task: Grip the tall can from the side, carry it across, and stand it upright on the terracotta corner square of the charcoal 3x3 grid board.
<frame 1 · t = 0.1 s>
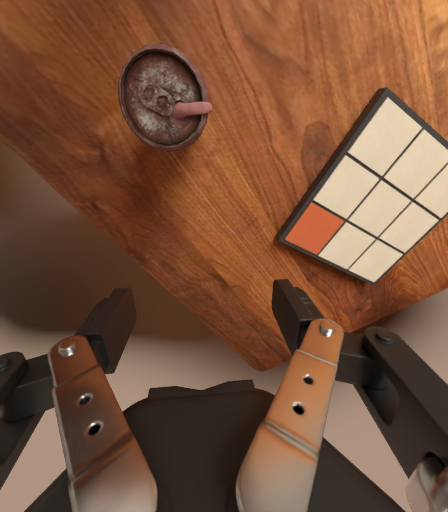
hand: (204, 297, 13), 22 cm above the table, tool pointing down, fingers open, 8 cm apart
board: (372, 206, 35), on the table
can: (181, 109, 27), on the table
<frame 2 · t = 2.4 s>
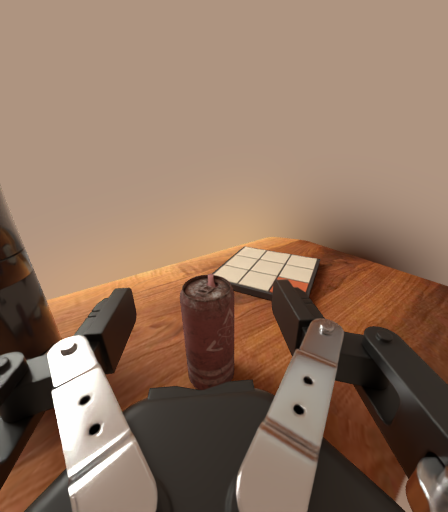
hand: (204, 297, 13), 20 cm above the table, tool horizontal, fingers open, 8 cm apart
board: (267, 273, 57), on the table
can: (211, 373, 31), on the table
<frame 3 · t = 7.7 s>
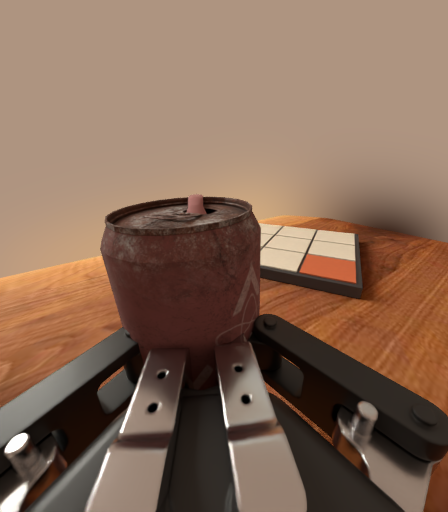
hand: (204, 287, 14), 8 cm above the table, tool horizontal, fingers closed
board: (287, 252, 40), on the table
can: (208, 426, 14), on the table, touching gripper
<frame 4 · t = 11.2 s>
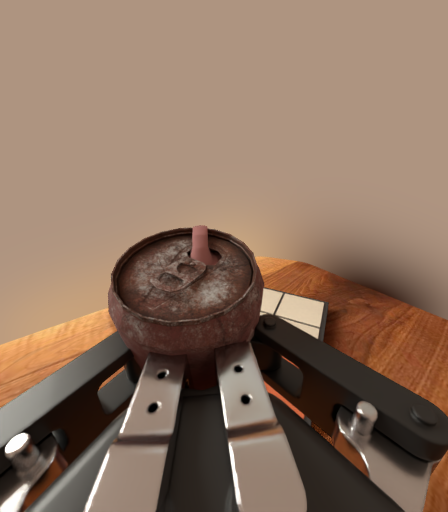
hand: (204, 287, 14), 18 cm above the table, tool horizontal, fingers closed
board: (244, 330, 35), on the table
can: (204, 403, 17), point 8 cm above the table, touching gripper, hand
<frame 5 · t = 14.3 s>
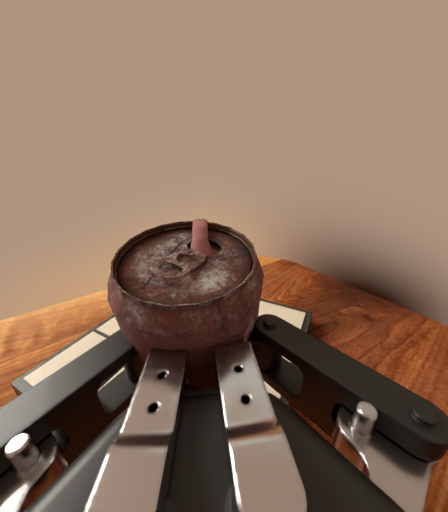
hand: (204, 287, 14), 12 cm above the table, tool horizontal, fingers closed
board: (188, 352, 24), on the table
can: (203, 405, 17), point 2 cm above the table, touching board, gripper
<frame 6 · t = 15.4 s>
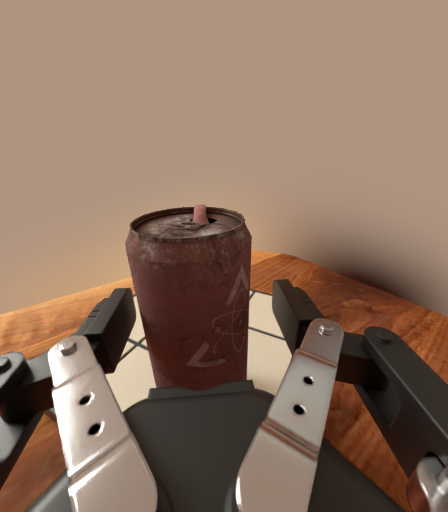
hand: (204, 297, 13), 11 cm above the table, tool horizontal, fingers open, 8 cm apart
board: (189, 344, 24), on the table
can: (204, 400, 17), point 2 cm above the table, touching board
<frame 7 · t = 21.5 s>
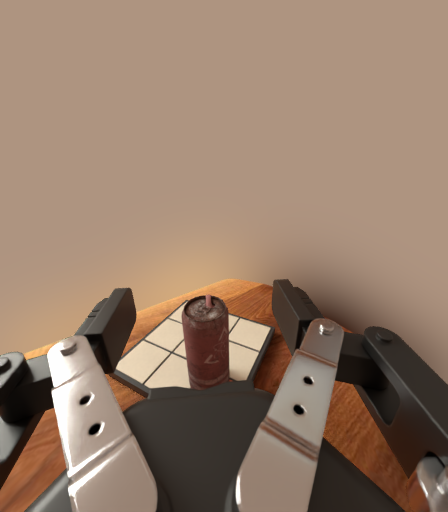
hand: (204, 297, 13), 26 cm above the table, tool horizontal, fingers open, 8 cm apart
board: (199, 352, 42), on the table
can: (209, 381, 35), point 2 cm above the table, touching board
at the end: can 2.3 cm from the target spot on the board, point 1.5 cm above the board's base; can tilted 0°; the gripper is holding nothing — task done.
